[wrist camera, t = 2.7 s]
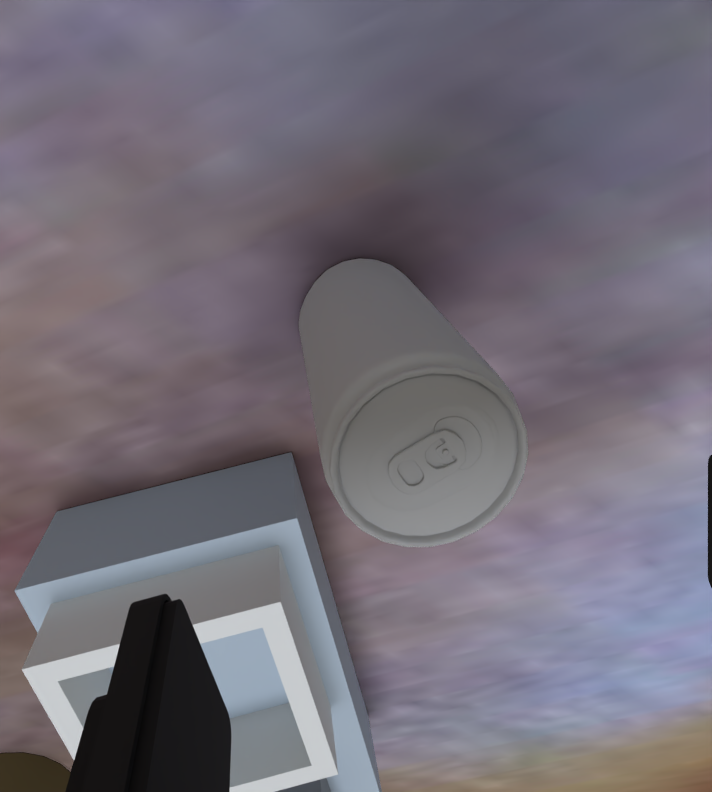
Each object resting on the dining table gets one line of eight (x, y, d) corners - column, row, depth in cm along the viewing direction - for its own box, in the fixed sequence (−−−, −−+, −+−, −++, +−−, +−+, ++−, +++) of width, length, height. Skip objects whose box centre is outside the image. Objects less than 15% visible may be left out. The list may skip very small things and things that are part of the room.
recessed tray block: (56, 511, 27) (-21, 655, 20) (291, 452, 27) (301, 572, 20) (197, 804, 35) (179, 986, 27) (379, 755, 35) (410, 922, 28)
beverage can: (440, 333, 26) (568, 483, 15) (339, 396, 27) (393, 586, 16) (380, 230, 24) (475, 318, 13) (272, 300, 25) (279, 440, 14)
